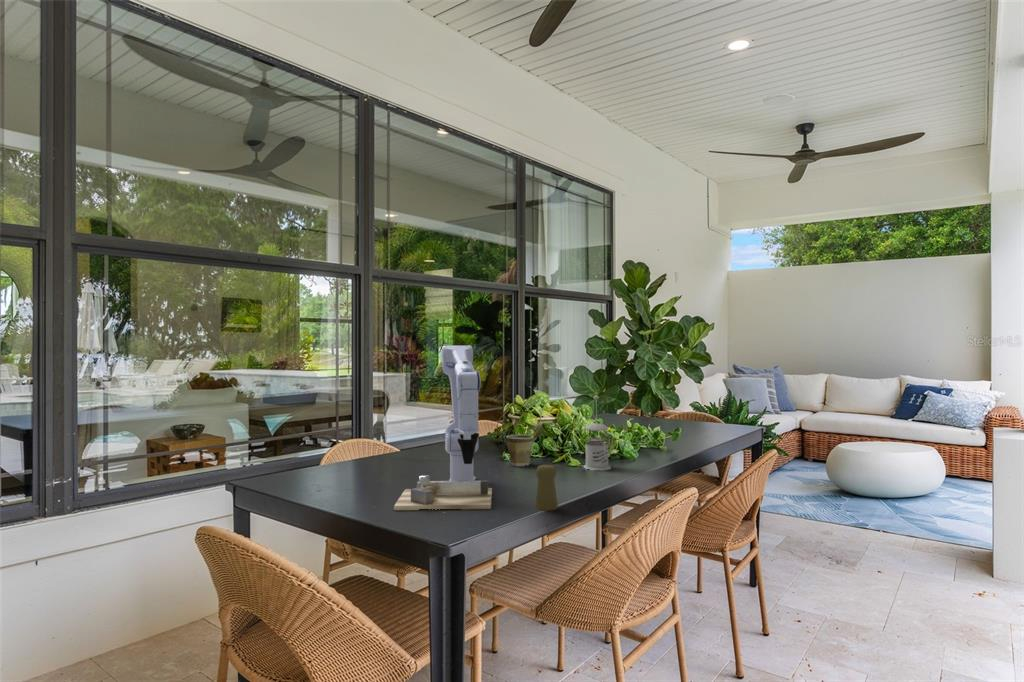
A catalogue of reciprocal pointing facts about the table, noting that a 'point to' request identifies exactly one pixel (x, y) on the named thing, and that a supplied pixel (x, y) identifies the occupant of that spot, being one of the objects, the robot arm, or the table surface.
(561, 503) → the table surface
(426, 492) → the grey rectangular block
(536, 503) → the pepper mill
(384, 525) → the table surface
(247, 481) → the table surface
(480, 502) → the cracker board
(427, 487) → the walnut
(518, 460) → the flower pot
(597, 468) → the french press
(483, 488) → the lever
